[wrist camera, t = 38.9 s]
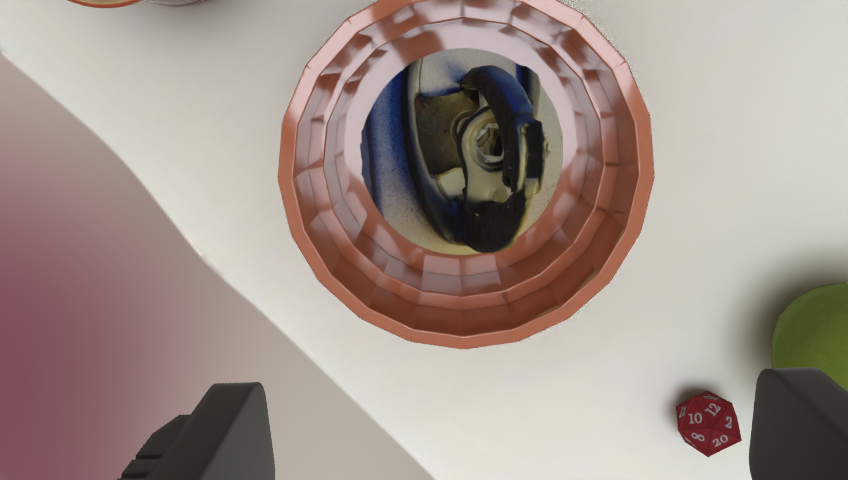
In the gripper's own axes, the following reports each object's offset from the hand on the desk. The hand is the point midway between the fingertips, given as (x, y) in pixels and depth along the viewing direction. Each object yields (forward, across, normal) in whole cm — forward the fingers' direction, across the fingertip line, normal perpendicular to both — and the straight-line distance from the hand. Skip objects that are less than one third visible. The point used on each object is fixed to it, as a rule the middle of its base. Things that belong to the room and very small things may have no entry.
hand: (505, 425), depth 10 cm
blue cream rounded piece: (+30, 0, +2) cm, 31 cm away
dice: (+30, -16, +18) cm, 39 cm away
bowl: (+30, 0, 0) cm, 30 cm away
